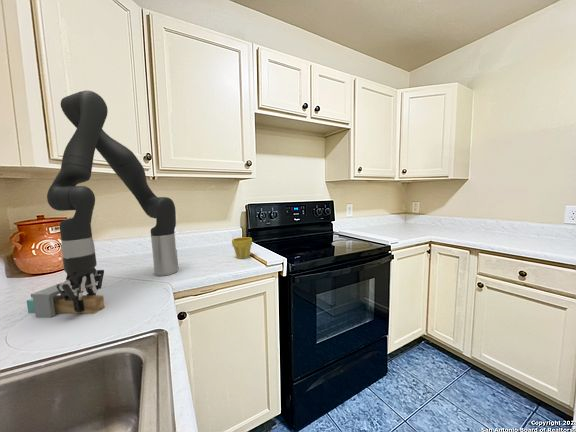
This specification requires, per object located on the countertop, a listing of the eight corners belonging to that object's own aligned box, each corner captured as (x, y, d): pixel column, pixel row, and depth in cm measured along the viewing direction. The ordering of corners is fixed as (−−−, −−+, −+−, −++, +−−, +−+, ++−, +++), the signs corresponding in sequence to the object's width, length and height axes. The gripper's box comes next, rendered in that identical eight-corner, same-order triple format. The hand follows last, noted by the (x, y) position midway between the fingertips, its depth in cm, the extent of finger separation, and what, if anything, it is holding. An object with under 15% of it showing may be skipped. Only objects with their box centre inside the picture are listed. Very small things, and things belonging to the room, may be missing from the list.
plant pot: (235, 254, 135) (234, 237, 134) (254, 254, 135) (253, 236, 134) (230, 260, 125) (229, 241, 124) (250, 259, 124) (249, 240, 123)
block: (44, 306, 79) (42, 294, 79) (58, 306, 79) (56, 294, 79) (28, 313, 75) (26, 300, 75) (43, 313, 75) (41, 300, 74)
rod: (55, 307, 78) (53, 295, 78) (104, 307, 77) (103, 295, 76) (43, 312, 75) (41, 300, 74) (95, 313, 73) (93, 300, 73)
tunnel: (64, 303, 81) (61, 282, 80) (80, 303, 80) (78, 282, 79) (34, 317, 72) (30, 294, 71) (52, 317, 71) (49, 294, 71)
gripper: (88, 247, 81) (94, 298, 82) (42, 260, 67) (51, 320, 68) (109, 247, 80) (115, 298, 82) (67, 260, 66) (75, 320, 68)
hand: (86, 308), depth 75 cm, fingers closed on rod, 3 cm apart
